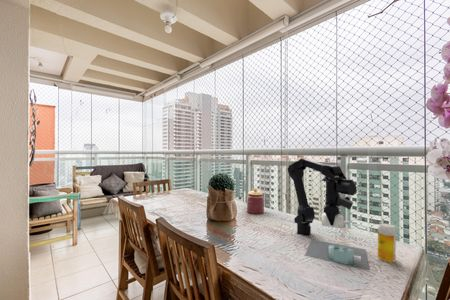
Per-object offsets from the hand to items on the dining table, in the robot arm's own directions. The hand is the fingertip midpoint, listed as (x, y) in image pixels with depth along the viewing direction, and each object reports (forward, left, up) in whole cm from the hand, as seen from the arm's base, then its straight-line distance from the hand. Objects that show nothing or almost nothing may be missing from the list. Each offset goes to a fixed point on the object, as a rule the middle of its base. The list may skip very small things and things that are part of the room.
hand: (332, 223), depth 106 cm
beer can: (+21, -2, -12) cm, 24 cm away
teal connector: (+5, -13, -11) cm, 18 cm away
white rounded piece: (+1, 0, -1) cm, 2 cm away
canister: (-54, +38, -12) cm, 67 cm away
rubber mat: (+2, -6, -12) cm, 13 cm away
